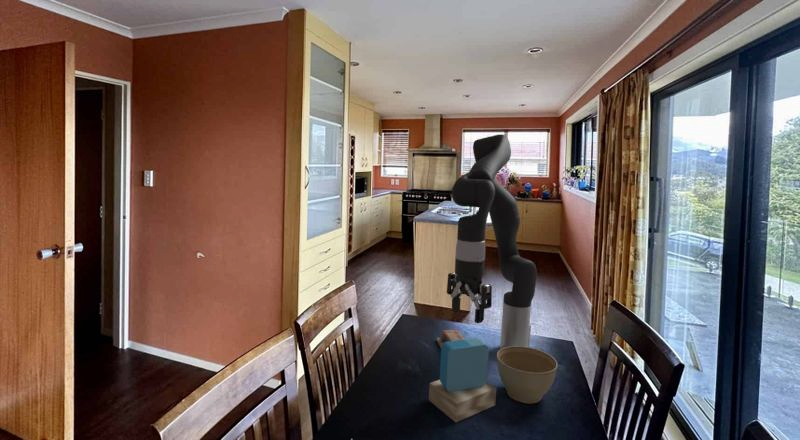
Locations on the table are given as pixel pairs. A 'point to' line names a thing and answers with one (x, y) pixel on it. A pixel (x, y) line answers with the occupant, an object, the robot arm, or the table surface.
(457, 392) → the stand
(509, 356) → the planter bowl
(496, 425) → the table surface
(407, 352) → the table surface
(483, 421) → the table surface
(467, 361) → the blue product box
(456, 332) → the packaged product
